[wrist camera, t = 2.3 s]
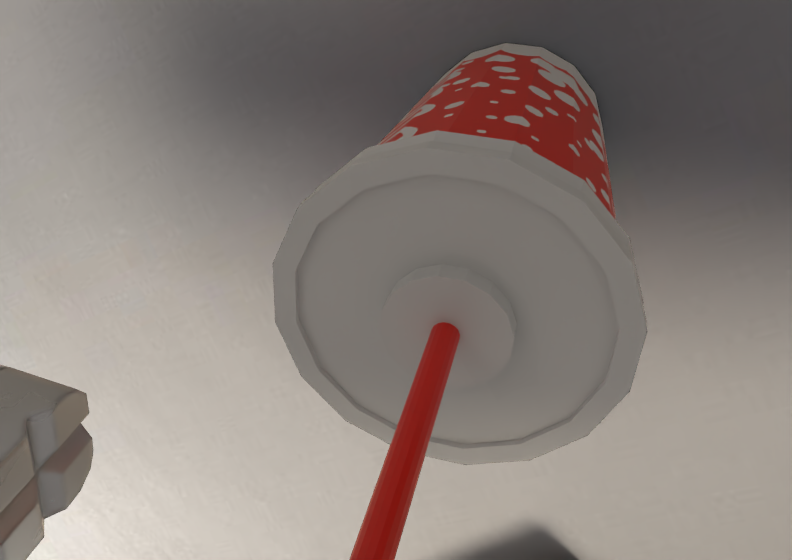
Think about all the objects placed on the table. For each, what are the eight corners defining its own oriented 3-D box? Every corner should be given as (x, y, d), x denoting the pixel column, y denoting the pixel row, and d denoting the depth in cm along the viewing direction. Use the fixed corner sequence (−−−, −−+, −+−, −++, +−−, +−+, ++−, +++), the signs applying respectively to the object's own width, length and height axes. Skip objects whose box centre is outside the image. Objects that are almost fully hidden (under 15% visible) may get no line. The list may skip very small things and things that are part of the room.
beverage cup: (573, -39, 17) (487, 269, 5) (671, 186, 19) (756, 748, 8) (356, 79, 20) (-8, 451, 8) (463, 265, 22) (294, 765, 10)
